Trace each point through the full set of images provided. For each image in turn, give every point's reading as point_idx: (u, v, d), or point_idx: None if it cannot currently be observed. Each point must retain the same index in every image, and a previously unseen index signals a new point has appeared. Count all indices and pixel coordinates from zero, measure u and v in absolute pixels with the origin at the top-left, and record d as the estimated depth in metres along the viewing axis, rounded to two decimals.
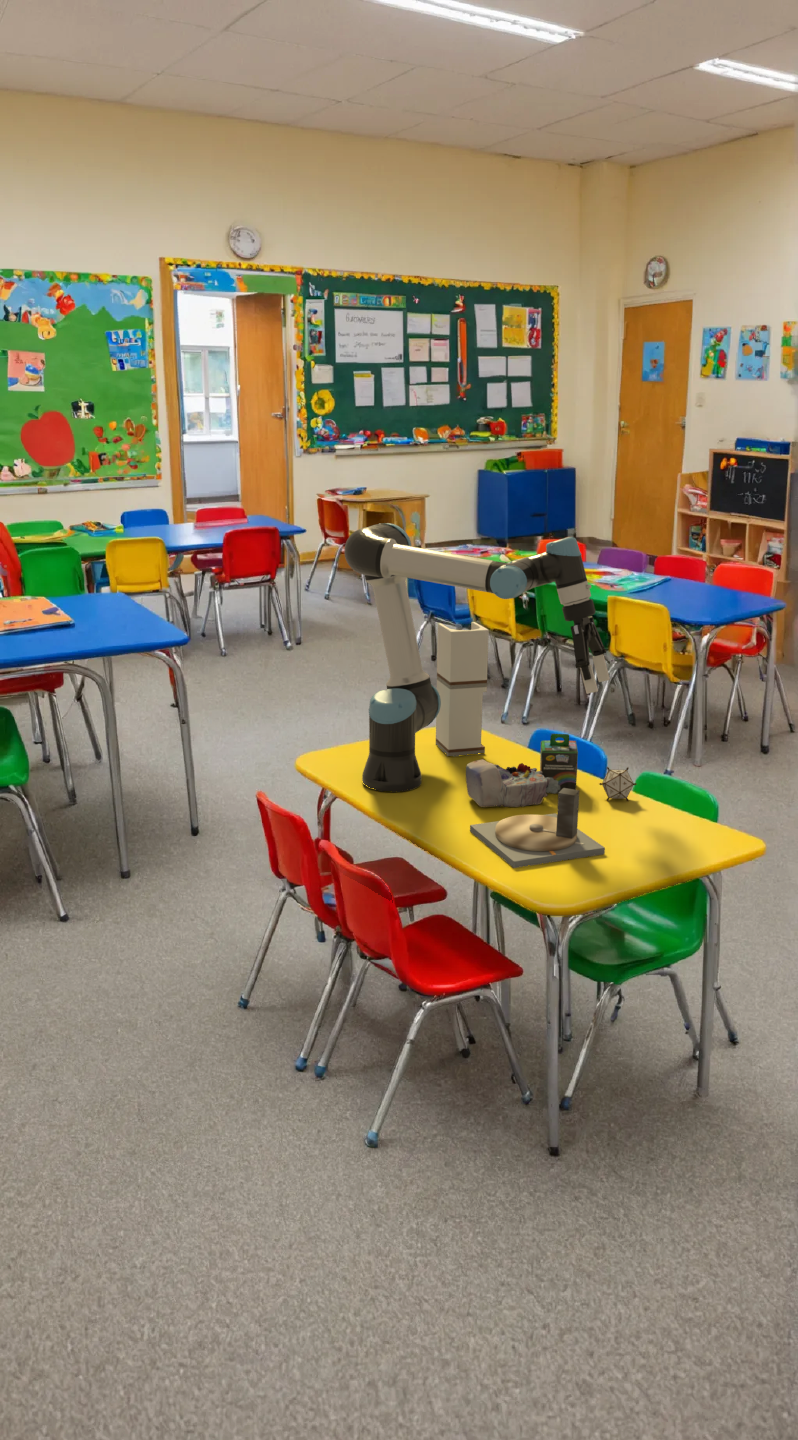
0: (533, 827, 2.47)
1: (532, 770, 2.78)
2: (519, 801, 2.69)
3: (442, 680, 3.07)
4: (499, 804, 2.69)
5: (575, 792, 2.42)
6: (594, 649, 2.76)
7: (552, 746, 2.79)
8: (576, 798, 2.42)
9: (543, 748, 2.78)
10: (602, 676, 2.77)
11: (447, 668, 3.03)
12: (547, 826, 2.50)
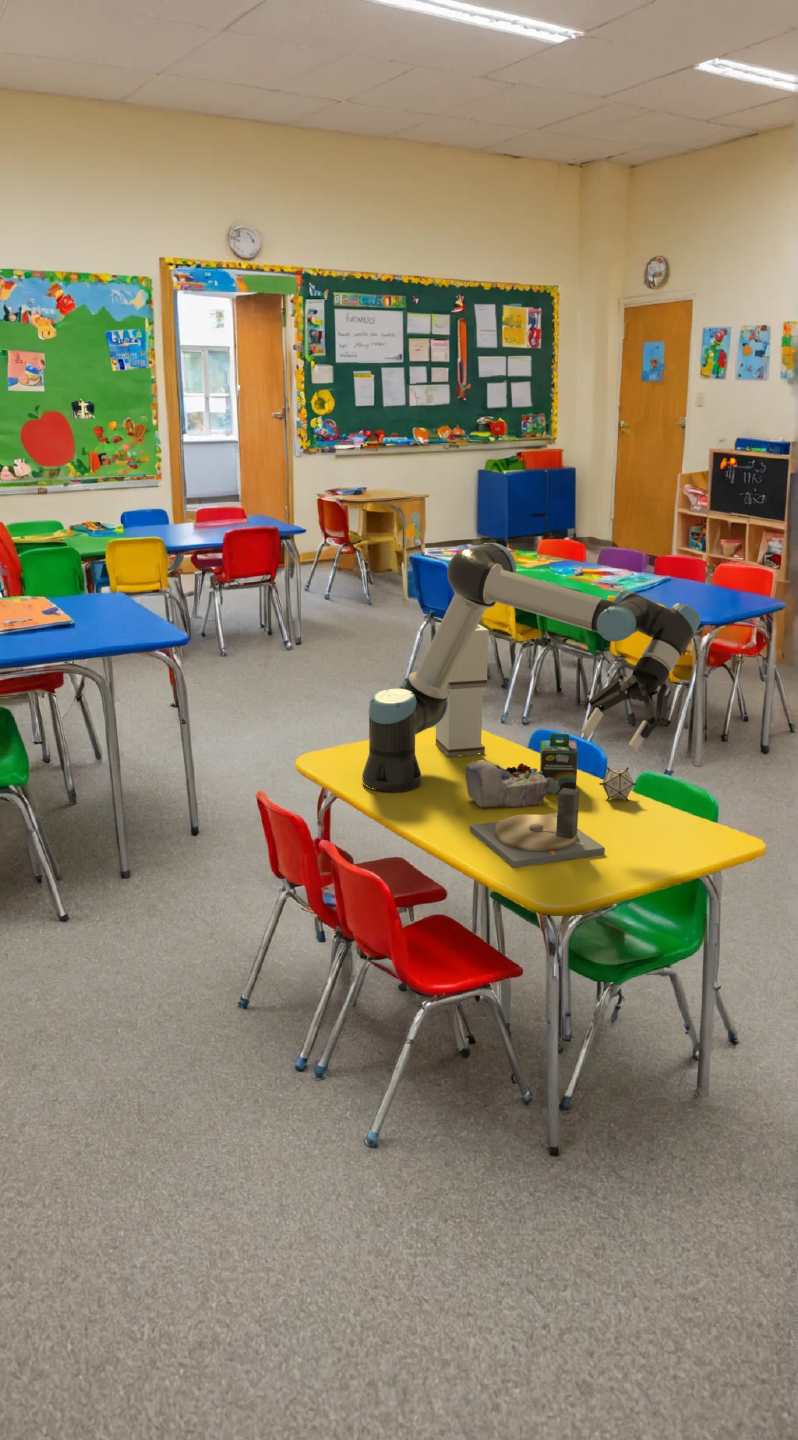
0: (533, 827, 2.47)
1: (532, 770, 2.78)
2: (519, 801, 2.69)
3: None
4: (499, 804, 2.68)
5: (575, 792, 2.42)
6: (605, 704, 2.54)
7: (552, 746, 2.79)
8: (576, 798, 2.42)
9: (543, 748, 2.78)
10: (588, 730, 2.53)
11: None
12: (547, 826, 2.50)
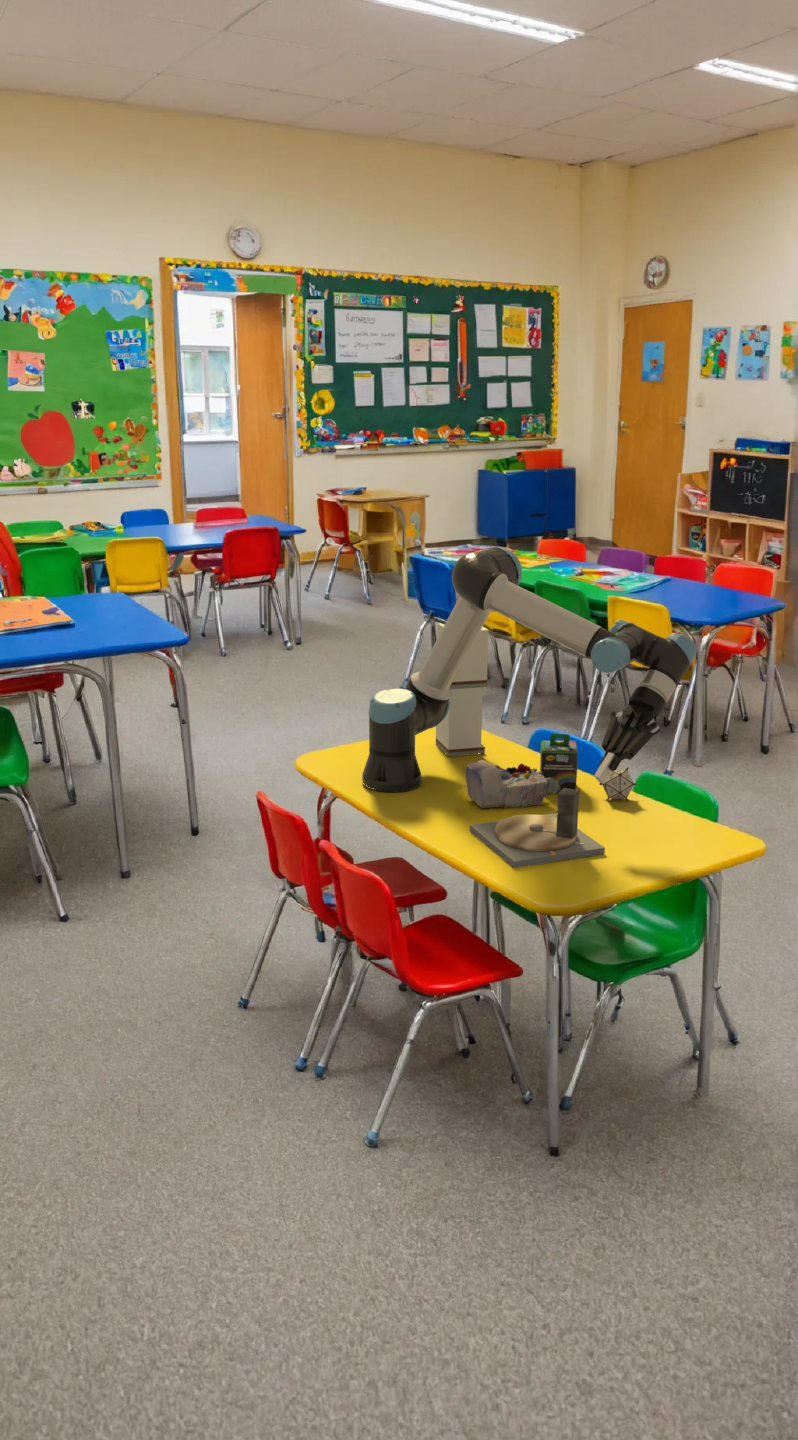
0: (533, 827, 2.47)
1: (532, 770, 2.78)
2: (519, 802, 2.69)
3: None
4: (499, 805, 2.68)
5: (575, 792, 2.42)
6: (616, 745, 2.49)
7: (552, 746, 2.79)
8: (576, 798, 2.42)
9: (543, 748, 2.78)
10: None
11: None
12: (547, 826, 2.50)
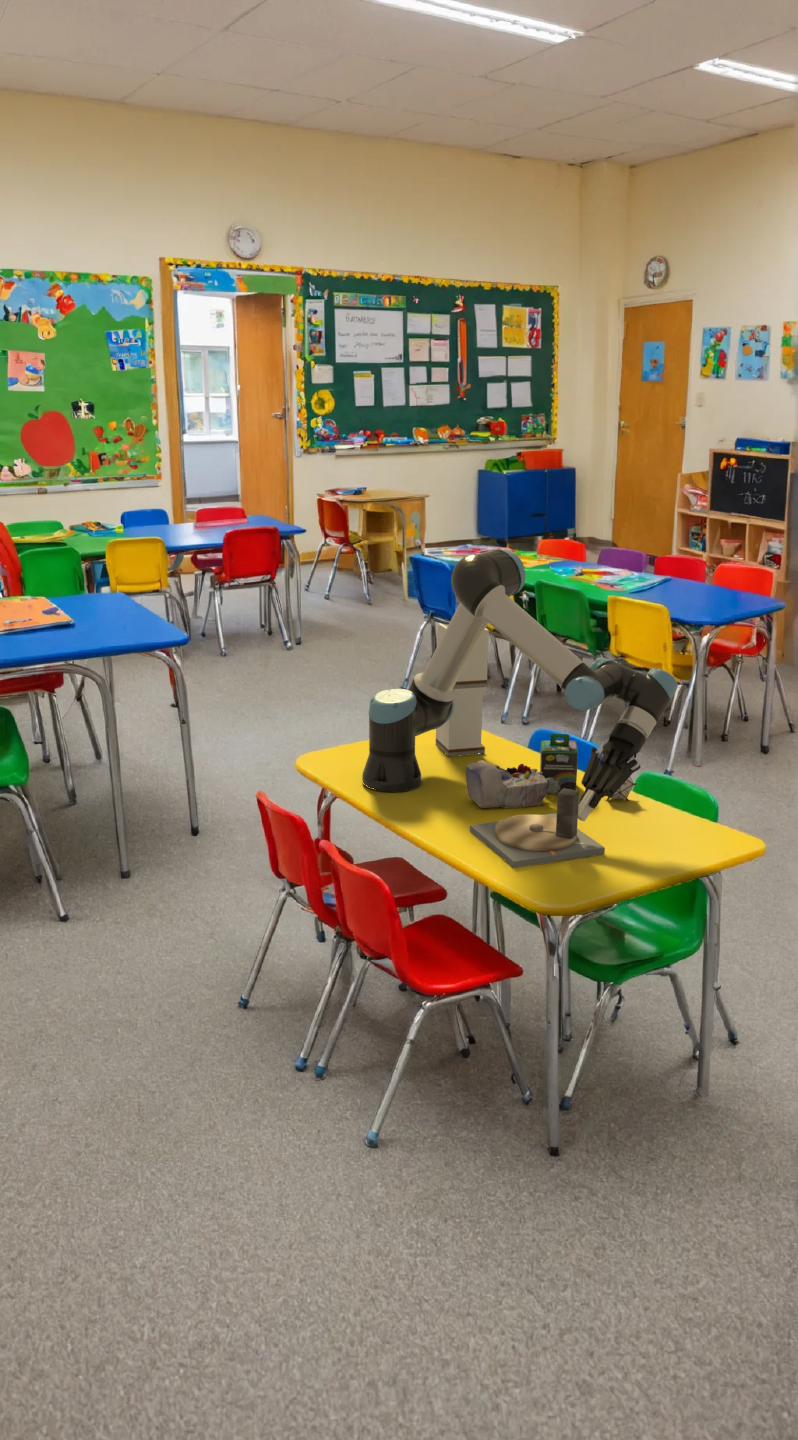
0: (533, 827, 2.47)
1: (532, 771, 2.77)
2: (519, 802, 2.69)
3: None
4: (499, 805, 2.68)
5: (575, 792, 2.42)
6: (596, 782, 2.48)
7: (552, 746, 2.79)
8: (576, 798, 2.42)
9: (543, 748, 2.78)
10: None
11: None
12: (548, 826, 2.50)
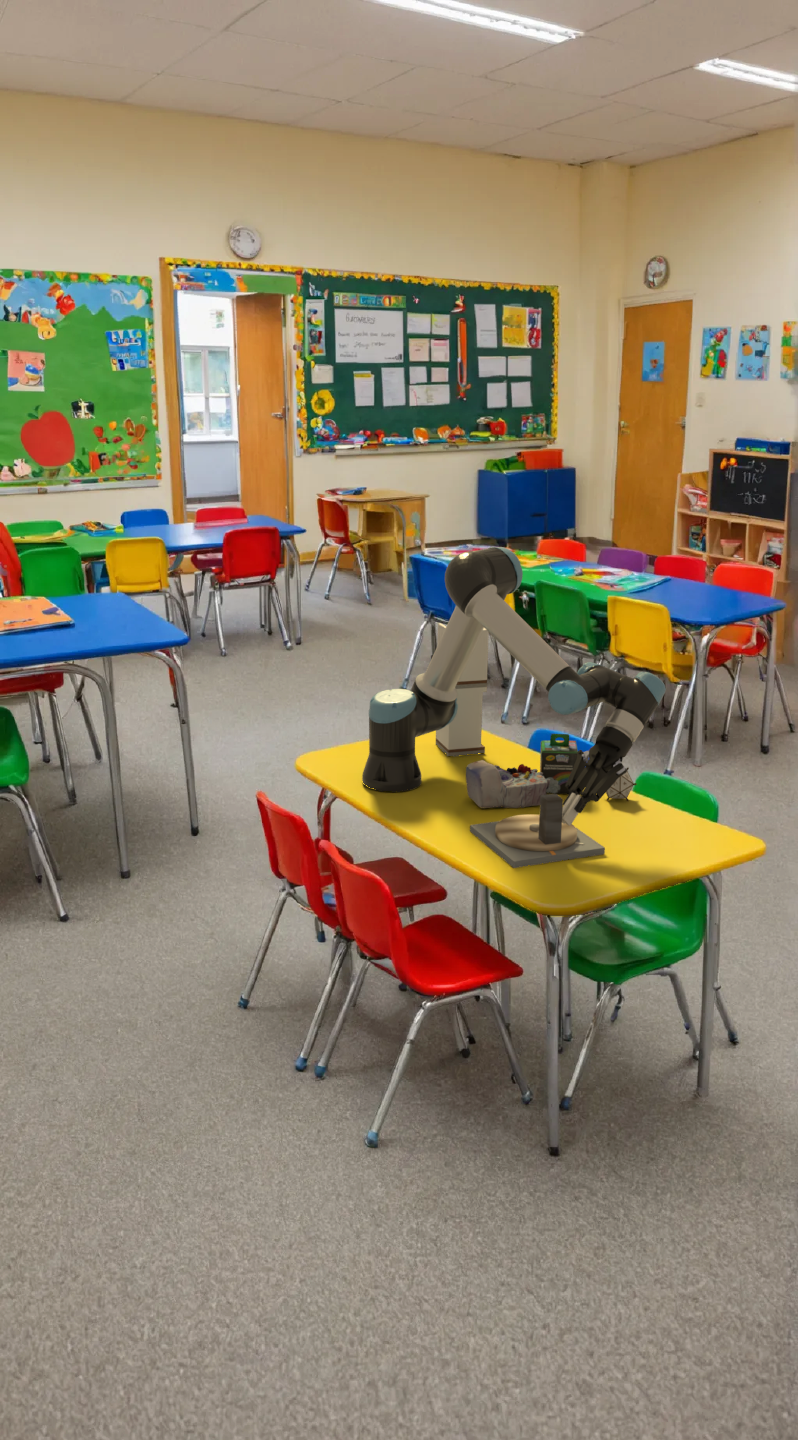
0: (532, 826, 2.48)
1: (532, 771, 2.77)
2: (519, 802, 2.68)
3: None
4: (499, 805, 2.68)
5: (554, 799, 2.38)
6: (581, 785, 2.46)
7: (552, 746, 2.79)
8: (554, 805, 2.38)
9: (543, 748, 2.78)
10: None
11: None
12: None
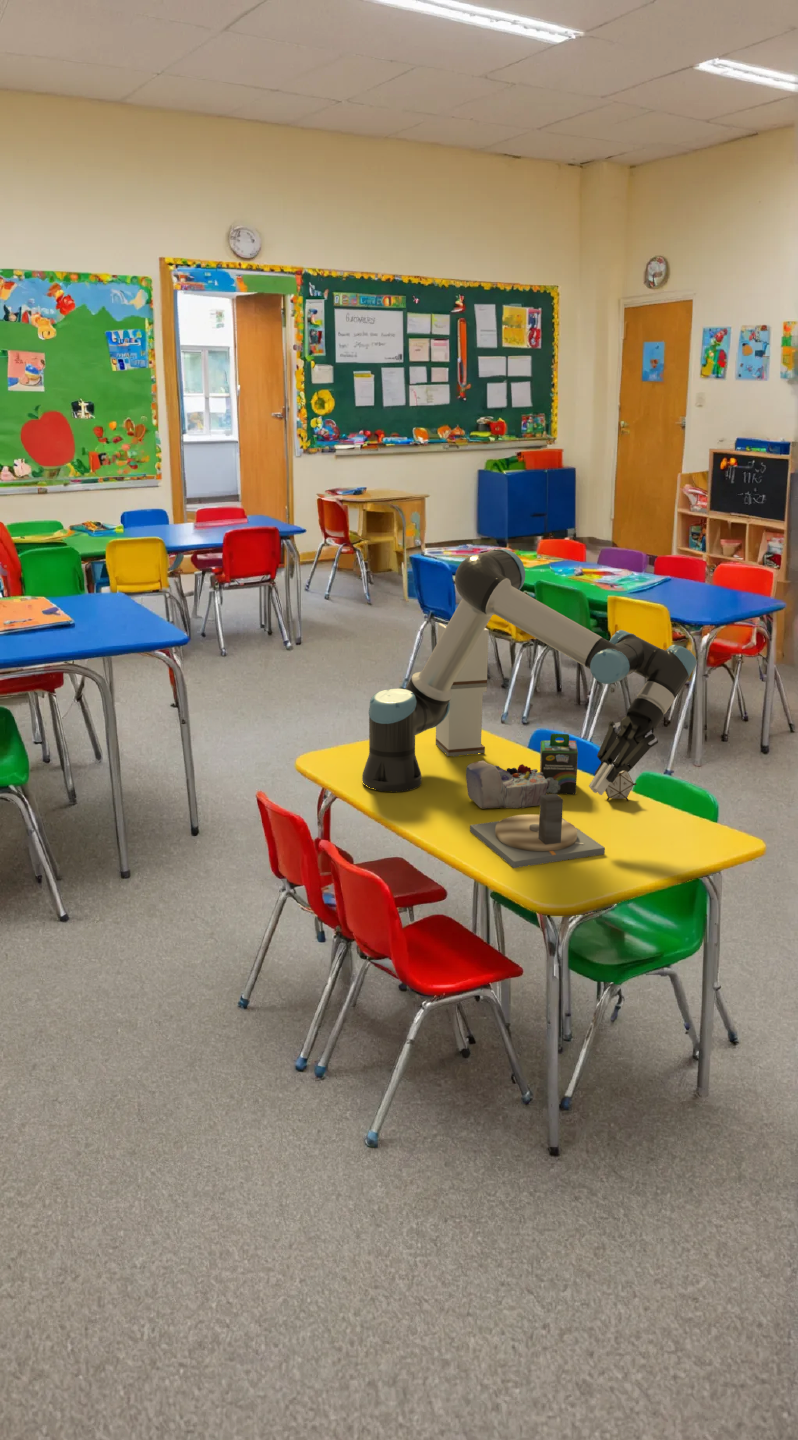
0: (532, 826, 2.48)
1: (532, 771, 2.77)
2: (519, 802, 2.68)
3: None
4: (499, 805, 2.68)
5: (554, 799, 2.38)
6: (612, 755, 2.50)
7: (552, 746, 2.79)
8: (554, 805, 2.38)
9: (543, 748, 2.78)
10: (596, 785, 2.48)
11: None
12: None
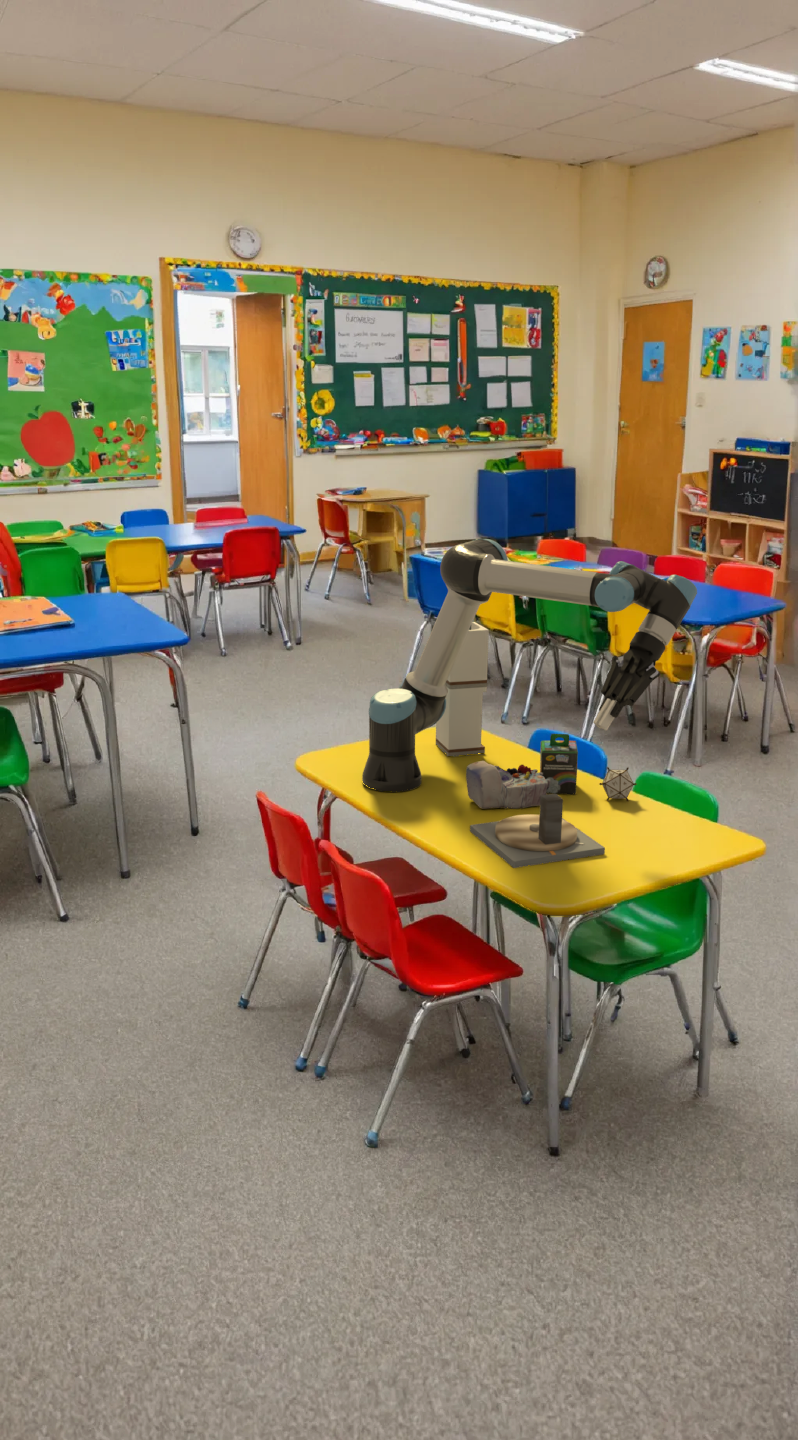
0: (532, 826, 2.48)
1: (533, 771, 2.77)
2: (519, 803, 2.68)
3: None
4: (499, 806, 2.68)
5: (554, 799, 2.38)
6: (616, 690, 2.53)
7: (552, 746, 2.79)
8: (554, 805, 2.38)
9: (543, 748, 2.78)
10: (601, 721, 2.52)
11: None
12: None
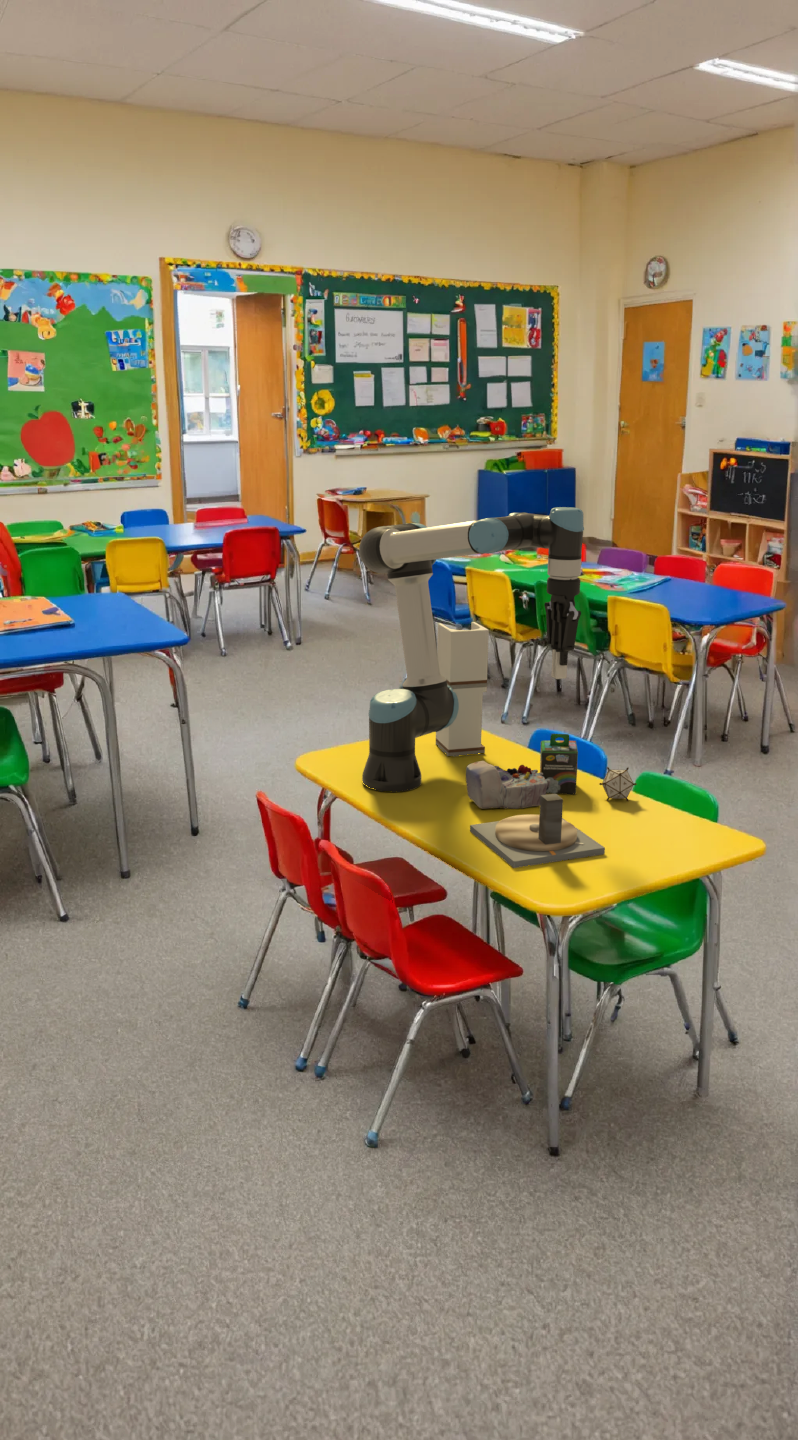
0: (532, 826, 2.48)
1: (533, 772, 2.77)
2: (519, 803, 2.68)
3: None
4: (499, 806, 2.68)
5: (554, 799, 2.38)
6: (557, 638, 2.59)
7: (552, 746, 2.79)
8: (554, 805, 2.38)
9: (543, 748, 2.78)
10: None
11: (447, 668, 3.03)
12: None
